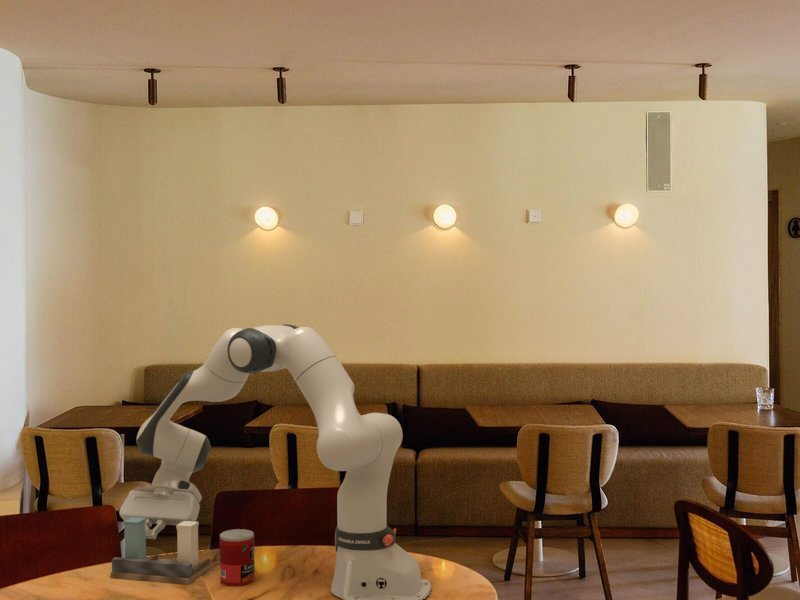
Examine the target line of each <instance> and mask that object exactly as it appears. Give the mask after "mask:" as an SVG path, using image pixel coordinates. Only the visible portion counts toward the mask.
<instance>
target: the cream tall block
mask: <svg viewBox="0 0 800 600" xmlns="http://www.w3.org/2000/svg"><path fill="white" fill-rule="evenodd" d="M199 524H200V523H199V521H196V522H194V521H183V522H181V523H179V524H178V525H175V527H176V528H175V529H176V532H177V534H176V535H177V536H176V537H177V540H176V541H177V543H176V544H177V560H178V562H182V563H192V568H194V567H195V566H197V565H198V562H199V526H200V525H199Z"/></svg>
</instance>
